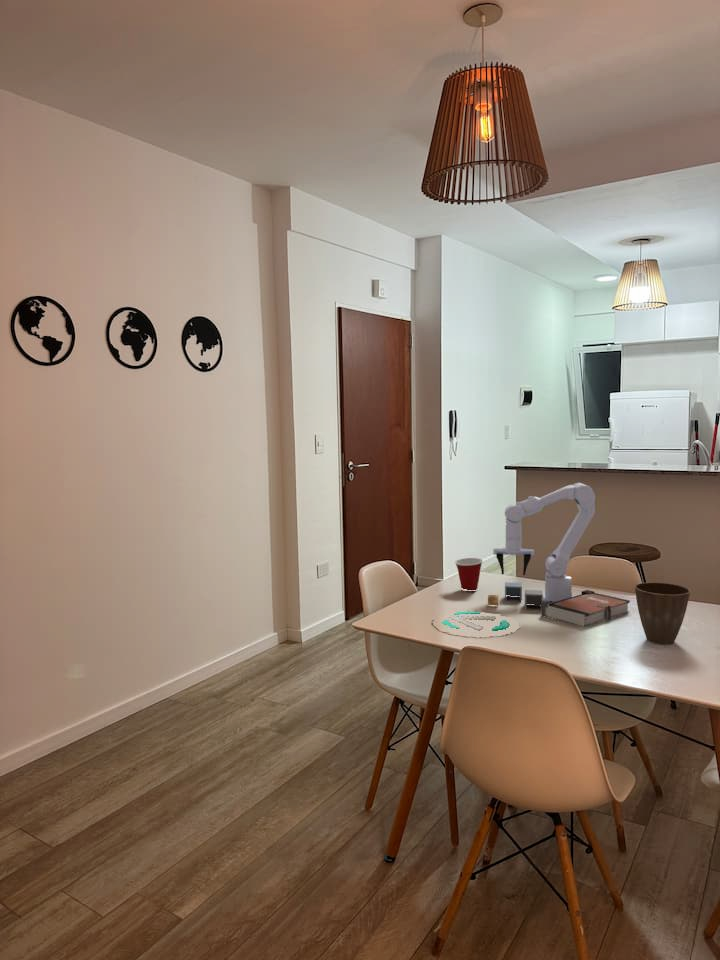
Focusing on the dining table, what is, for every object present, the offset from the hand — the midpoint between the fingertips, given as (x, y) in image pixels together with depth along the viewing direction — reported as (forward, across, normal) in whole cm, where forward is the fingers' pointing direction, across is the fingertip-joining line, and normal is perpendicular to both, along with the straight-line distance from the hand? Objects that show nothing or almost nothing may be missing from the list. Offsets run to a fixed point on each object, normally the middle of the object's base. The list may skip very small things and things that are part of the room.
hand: (513, 574), depth 249 cm
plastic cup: (+10, -17, +10) cm, 22 cm away
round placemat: (+10, -12, -33) cm, 37 cm away
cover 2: (+9, +7, -10) cm, 15 cm away
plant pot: (+10, +43, -40) cm, 60 cm away
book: (+10, +24, -15) cm, 30 cm away
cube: (+10, -7, -10) cm, 15 cm away
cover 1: (+9, 0, 0) cm, 9 cm away
